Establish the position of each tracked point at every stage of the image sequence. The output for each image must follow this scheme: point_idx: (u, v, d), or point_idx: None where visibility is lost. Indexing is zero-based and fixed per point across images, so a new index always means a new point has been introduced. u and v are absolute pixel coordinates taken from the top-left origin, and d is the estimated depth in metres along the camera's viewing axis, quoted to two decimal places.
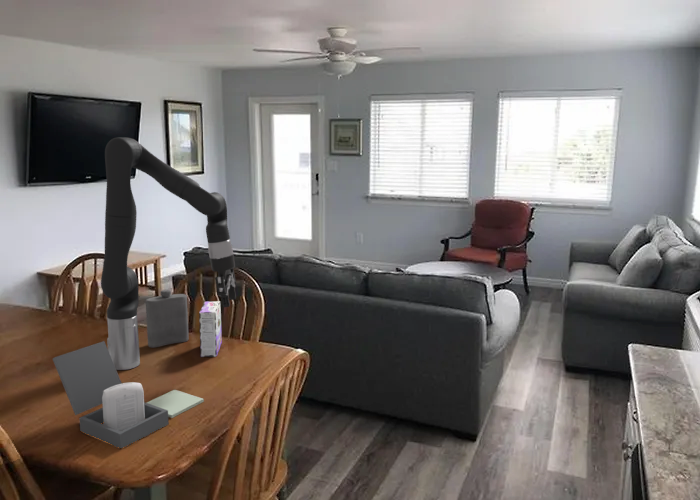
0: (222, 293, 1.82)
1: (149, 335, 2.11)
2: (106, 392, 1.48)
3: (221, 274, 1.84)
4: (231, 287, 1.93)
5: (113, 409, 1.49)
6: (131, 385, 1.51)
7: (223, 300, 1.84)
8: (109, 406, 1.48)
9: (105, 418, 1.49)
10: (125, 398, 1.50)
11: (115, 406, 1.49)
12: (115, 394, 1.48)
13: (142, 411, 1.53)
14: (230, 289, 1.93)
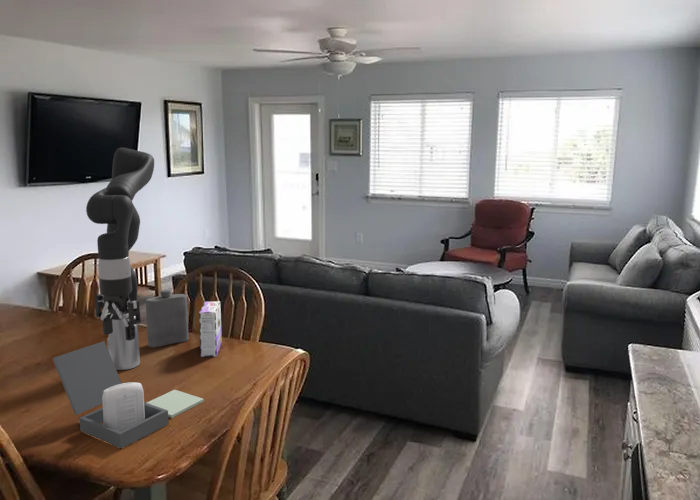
0: None
1: (149, 335, 2.11)
2: (106, 392, 1.48)
3: None
4: None
5: (113, 409, 1.49)
6: (131, 385, 1.51)
7: None
8: (109, 406, 1.48)
9: (105, 418, 1.49)
10: (125, 398, 1.50)
11: (115, 406, 1.49)
12: (115, 394, 1.48)
13: (142, 411, 1.53)
14: None
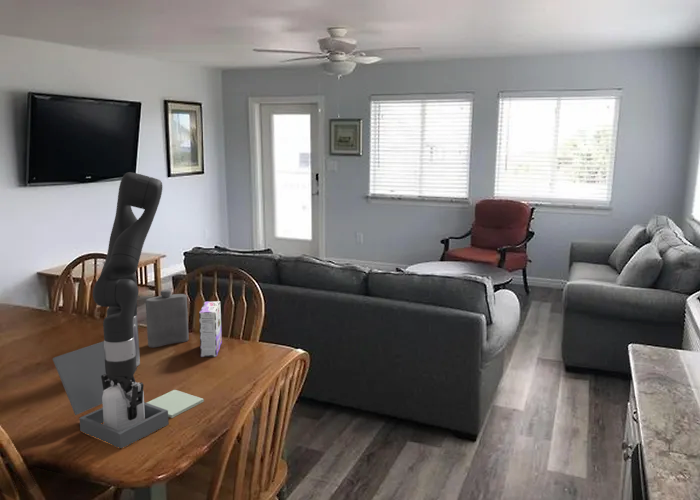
0: None
1: (149, 335, 2.11)
2: (106, 392, 1.48)
3: None
4: None
5: (113, 409, 1.49)
6: None
7: None
8: (109, 406, 1.48)
9: (105, 418, 1.49)
10: None
11: (115, 406, 1.49)
12: (115, 394, 1.48)
13: (142, 411, 1.53)
14: None
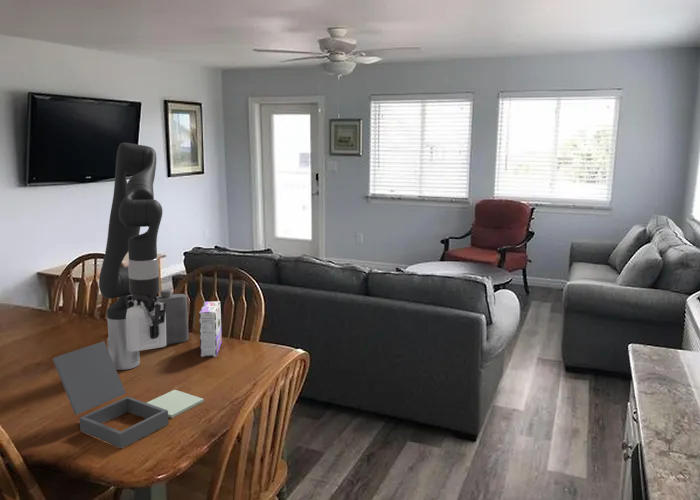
0: None
1: None
2: (130, 310, 1.52)
3: None
4: None
5: (136, 327, 1.53)
6: None
7: None
8: (132, 324, 1.52)
9: (128, 336, 1.53)
10: None
11: (138, 324, 1.53)
12: (138, 313, 1.53)
13: (164, 332, 1.57)
14: None
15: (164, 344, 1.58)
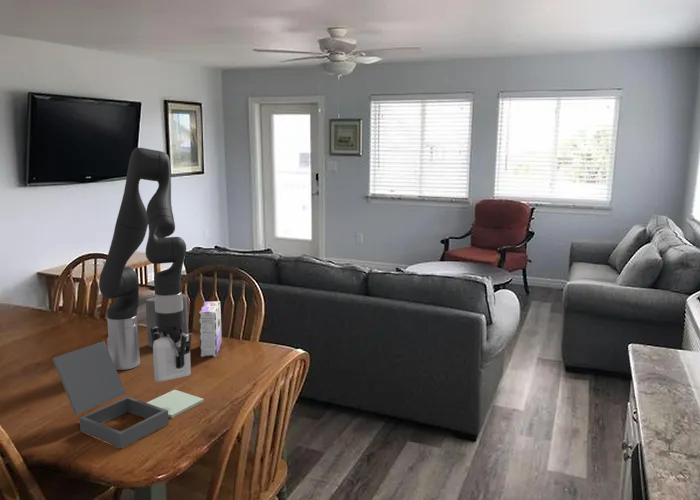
0: None
1: (149, 335, 2.11)
2: (157, 342, 1.60)
3: None
4: None
5: (163, 358, 1.61)
6: None
7: None
8: (160, 355, 1.60)
9: (156, 366, 1.61)
10: None
11: (165, 355, 1.61)
12: (165, 344, 1.61)
13: (189, 361, 1.66)
14: None
15: (189, 373, 1.66)
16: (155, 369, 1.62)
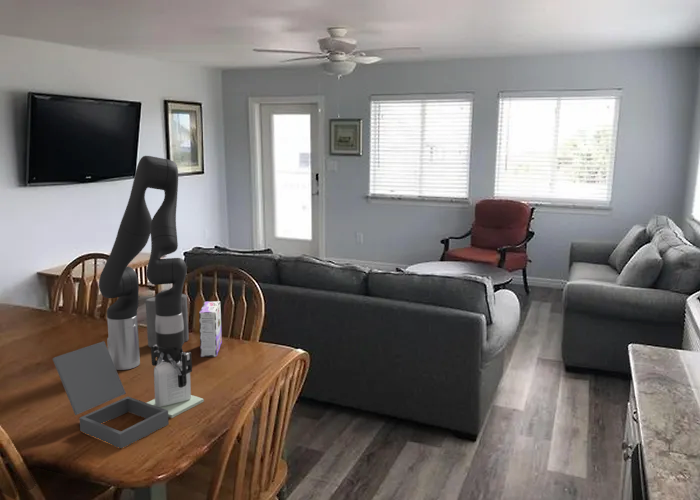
0: None
1: (149, 335, 2.11)
2: (158, 368, 1.62)
3: None
4: None
5: (164, 383, 1.62)
6: (179, 361, 1.65)
7: None
8: (161, 381, 1.62)
9: (157, 392, 1.62)
10: (175, 373, 1.64)
11: (166, 381, 1.62)
12: (166, 370, 1.62)
13: (189, 385, 1.67)
14: None
15: (189, 397, 1.68)
16: (156, 394, 1.63)
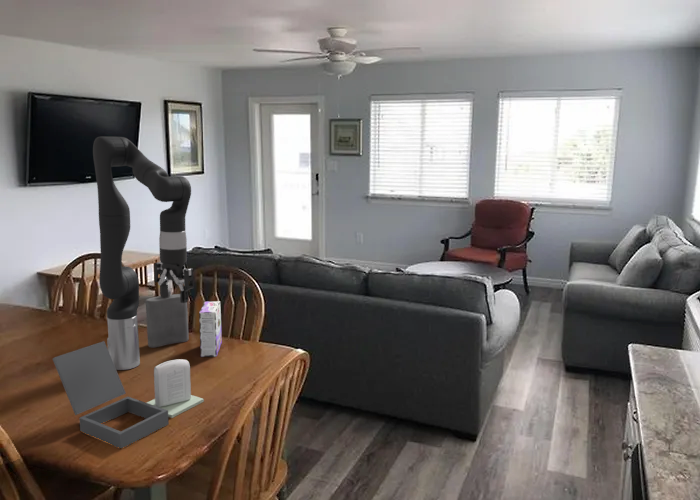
0: None
1: (149, 335, 2.11)
2: (158, 368, 1.62)
3: None
4: None
5: (164, 383, 1.62)
6: (179, 361, 1.65)
7: None
8: (161, 381, 1.62)
9: (157, 392, 1.62)
10: (175, 373, 1.64)
11: (166, 381, 1.62)
12: (166, 370, 1.62)
13: (189, 385, 1.67)
14: None
15: (189, 397, 1.68)
16: (156, 394, 1.63)
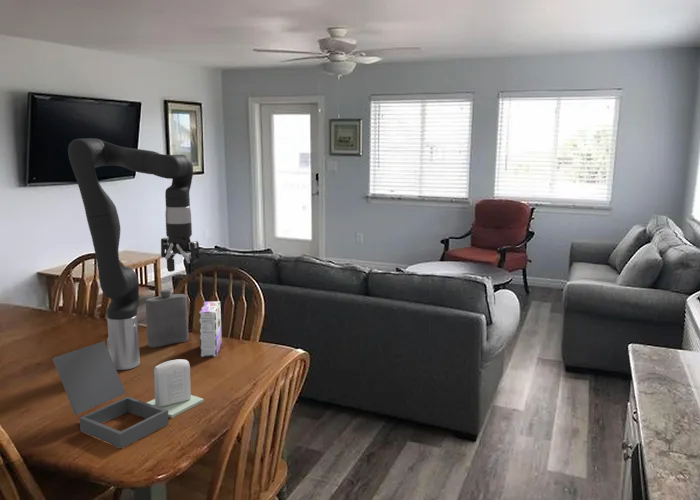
0: None
1: (149, 335, 2.11)
2: (158, 368, 1.62)
3: None
4: None
5: (164, 383, 1.62)
6: (179, 361, 1.65)
7: None
8: (161, 381, 1.62)
9: (157, 392, 1.62)
10: (175, 373, 1.64)
11: (166, 381, 1.62)
12: (166, 370, 1.62)
13: (189, 385, 1.67)
14: None
15: (189, 397, 1.68)
16: (156, 394, 1.63)
